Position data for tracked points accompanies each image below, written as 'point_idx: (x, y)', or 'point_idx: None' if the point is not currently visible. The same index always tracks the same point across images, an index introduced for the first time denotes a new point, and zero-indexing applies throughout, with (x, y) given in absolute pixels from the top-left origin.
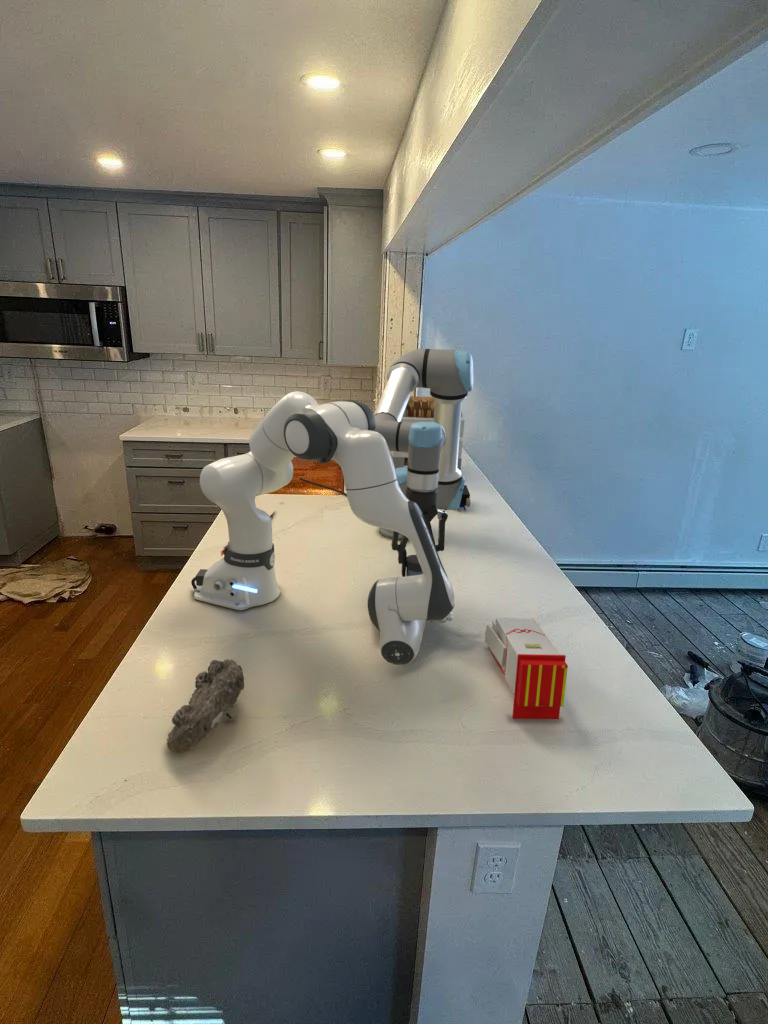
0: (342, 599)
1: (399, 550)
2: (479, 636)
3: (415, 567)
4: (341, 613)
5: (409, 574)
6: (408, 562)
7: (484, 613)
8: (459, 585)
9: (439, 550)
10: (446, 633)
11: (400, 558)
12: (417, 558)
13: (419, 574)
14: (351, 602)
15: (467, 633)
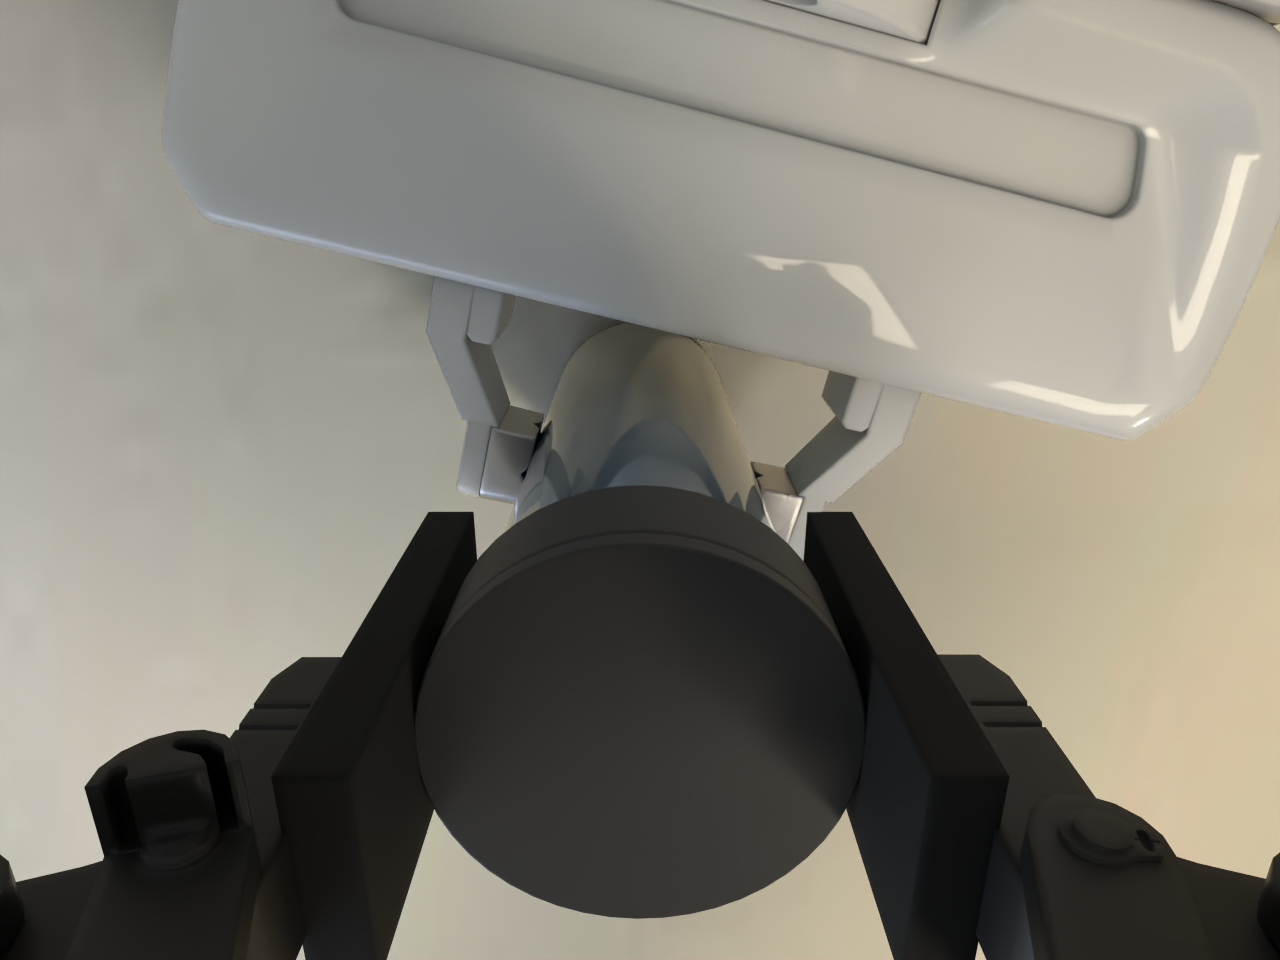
0: (1196, 630)
1: (1163, 847)
2: (43, 17)
3: (688, 515)
4: (1260, 414)
5: (757, 518)
6: (831, 624)
7: (9, 432)
8: None
9: (48, 886)
10: None
11: (1001, 725)
12: (624, 777)
13: (602, 481)
14: (1133, 587)
15: (159, 74)
